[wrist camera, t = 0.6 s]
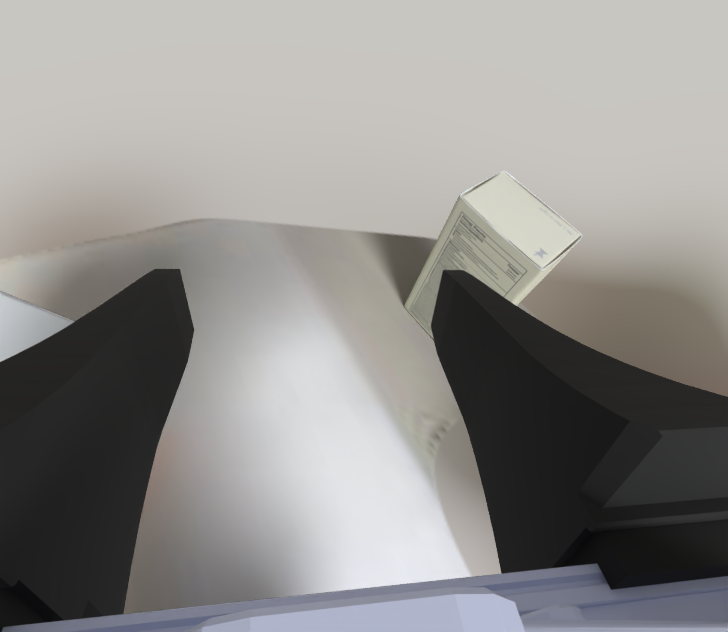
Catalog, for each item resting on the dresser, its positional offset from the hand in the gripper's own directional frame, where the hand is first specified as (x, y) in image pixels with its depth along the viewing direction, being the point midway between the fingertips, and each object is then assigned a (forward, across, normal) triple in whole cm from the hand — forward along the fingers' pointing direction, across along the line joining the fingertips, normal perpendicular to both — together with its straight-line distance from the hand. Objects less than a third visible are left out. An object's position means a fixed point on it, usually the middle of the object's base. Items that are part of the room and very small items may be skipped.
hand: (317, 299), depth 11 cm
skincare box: (+15, -10, +13) cm, 22 cm away
